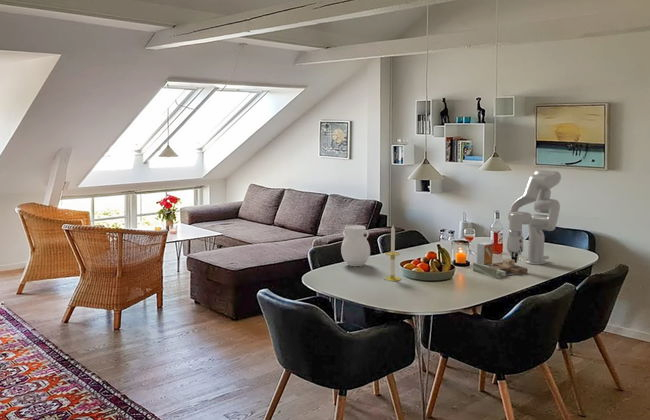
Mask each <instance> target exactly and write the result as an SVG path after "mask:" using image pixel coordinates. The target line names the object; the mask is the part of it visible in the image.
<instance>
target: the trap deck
mask: <svg viewBox="0 0 650 420" xmlns="http://www.w3.org/2000/svg"><path fill="white" fill-rule="evenodd" d="M492 264H493V266H488V265H487V264H485V265H483V264H479V263H477V262H473V263H472V271H473V272H475V273H478V274H481V275H484V276H487V277H490V278H493V279H499V278H505V277H513V276H521V275H527V274H528V268H527V267H525V266H524V267H523V266H520V265H518V264H515V267H505V266H503V261H501V262H494V263H493V262H492Z"/></svg>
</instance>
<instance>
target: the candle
mask: <svg viewBox="0 0 650 420" xmlns="http://www.w3.org/2000/svg"><path fill="white" fill-rule="evenodd" d="M390 230H391V232H390V251H387V252H385V255H386V256H390V273H389V274H390V276H385V277H386V280H390V281H389V282H399V281H402V278H401V277H400V276H396V274H395V272H396V271H395V270H396V269H395V268H396V267H395V266H396V265H395V264H396V256H400V255H401V253H400V252H398V251H396V250H395V248H396V247H395V246H396V245H395V244H396V243H395V242H396V228H395V226H394V225H392V227H391V228H390ZM386 280H385V281H386ZM398 280H399V281H398Z"/></svg>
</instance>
